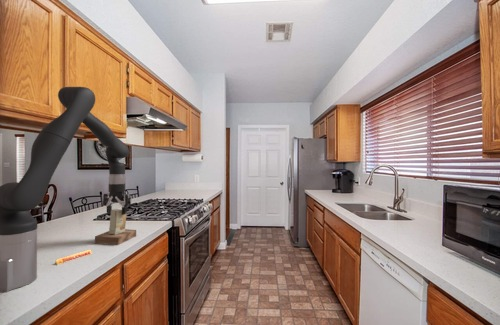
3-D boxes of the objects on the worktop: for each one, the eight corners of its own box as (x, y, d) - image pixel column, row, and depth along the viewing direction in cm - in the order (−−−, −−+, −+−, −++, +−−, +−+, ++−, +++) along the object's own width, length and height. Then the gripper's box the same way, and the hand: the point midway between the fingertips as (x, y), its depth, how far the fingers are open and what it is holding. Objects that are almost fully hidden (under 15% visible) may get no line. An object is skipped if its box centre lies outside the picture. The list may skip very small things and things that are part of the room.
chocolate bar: (54, 264, 87) (54, 258, 87) (89, 253, 97) (89, 248, 97) (57, 266, 85) (57, 260, 85) (92, 255, 96) (92, 250, 96)
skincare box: (115, 235, 111) (116, 211, 110) (108, 233, 112) (110, 209, 112) (125, 231, 117) (127, 208, 116) (119, 230, 118) (120, 207, 118)
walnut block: (118, 246, 107) (118, 238, 107) (94, 244, 109) (95, 236, 109) (136, 237, 119) (136, 229, 119) (114, 235, 121) (115, 228, 121)
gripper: (99, 183, 112) (98, 215, 111) (124, 183, 109) (123, 216, 109) (110, 181, 119) (110, 211, 119) (134, 182, 117) (133, 213, 117)
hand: (116, 214), depth 114 cm, fingers open, 8 cm apart
